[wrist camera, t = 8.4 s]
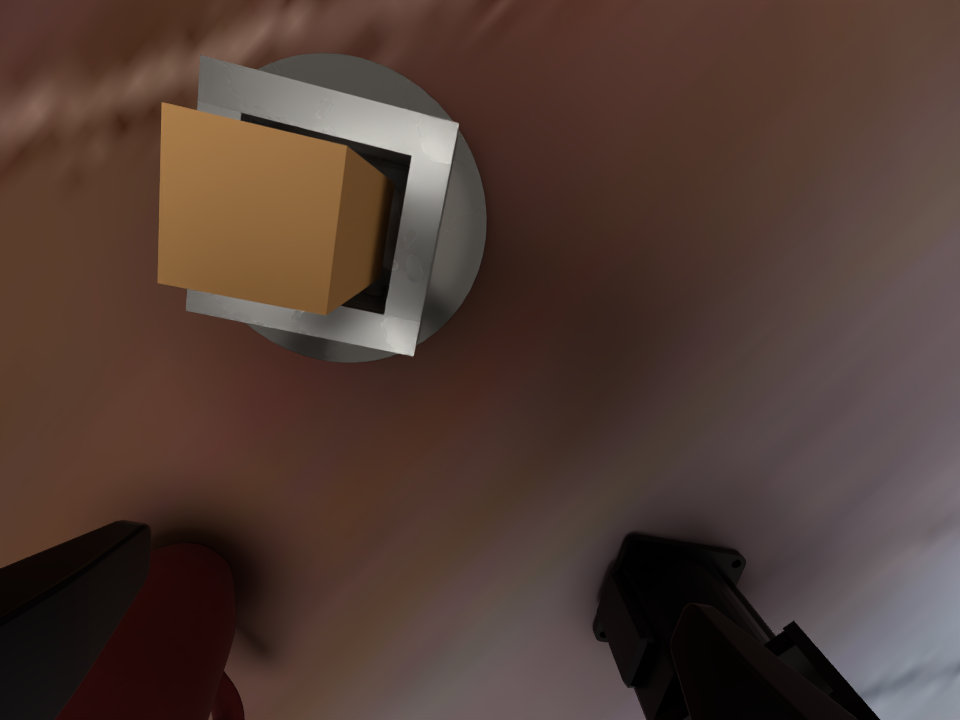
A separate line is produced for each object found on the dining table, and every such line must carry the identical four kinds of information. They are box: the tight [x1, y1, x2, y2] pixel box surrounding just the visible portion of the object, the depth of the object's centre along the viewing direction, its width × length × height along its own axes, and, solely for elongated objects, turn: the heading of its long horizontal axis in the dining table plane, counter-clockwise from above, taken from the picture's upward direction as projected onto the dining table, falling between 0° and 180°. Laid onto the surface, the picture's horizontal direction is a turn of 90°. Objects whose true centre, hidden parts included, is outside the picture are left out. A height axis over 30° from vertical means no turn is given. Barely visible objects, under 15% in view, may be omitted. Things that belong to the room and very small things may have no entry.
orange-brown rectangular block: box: [158, 102, 395, 315], centre depth 13 cm, size 4×4×8 cm
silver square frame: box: [186, 53, 487, 362], centre depth 16 cm, size 11×11×4 cm
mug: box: [55, 543, 245, 720], centre depth 18 cm, size 11×8×10 cm
